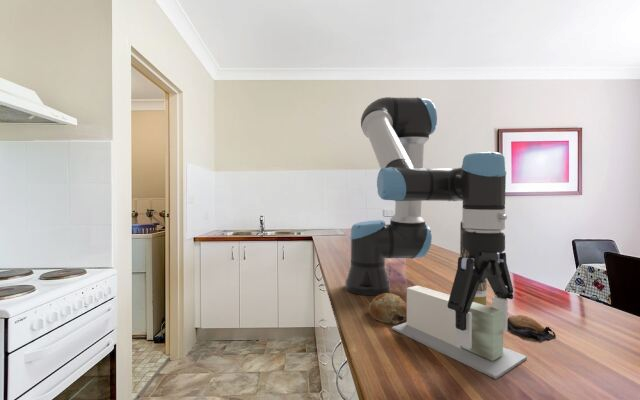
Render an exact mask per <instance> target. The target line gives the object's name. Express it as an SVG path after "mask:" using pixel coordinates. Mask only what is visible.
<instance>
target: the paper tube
mask: <svg viewBox="0 0 640 400" xmlns="http://www.w3.org/2000/svg"><path fill="white" fill-rule="evenodd" d="M459 227H460V228H459V229H460V234H459V236H460V237H459V238H460V239H459V241H460V242H459V243H460V244H459V245H460V246H459V251H460V252H459V254H460V255H459V257H463V258H468V255H469V252H468V250H465V249H464V248H463V246H462V233H463V232H464V231H465V228H463V227H462V220H461V219H460V225H459ZM472 275H473V274H472ZM487 281H488V280H487V278H486V279H485V280H484V282H483V283H480V285H479V287H478V290H477V292H476V295H475V297H474V300H473V302H475V303H479V304H482V305H486V306H487V285H488V283H487Z"/></svg>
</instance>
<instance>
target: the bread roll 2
mask: <svg viewBox="0 0 640 400" xmlns="http://www.w3.org/2000/svg"><path fill="white" fill-rule="evenodd" d="M506 332H509V333H511V334H514V335H517V336H519V337H521V338H525V339H528V340H530V341H533V342H537V341H538V342H539V343H544V342H547V341H551V340H552V341H553V340H554V339H556V337H557V335H556V333H555V331H554V330H552V329H551V327H548V326H542V324H541V323H539V322H538V321H537V320H536V319H533V318H531V317H529V316H526V315H522V314H518V315H517V314H516V315H512V316H509V317H508V318H507V331H506Z"/></svg>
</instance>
